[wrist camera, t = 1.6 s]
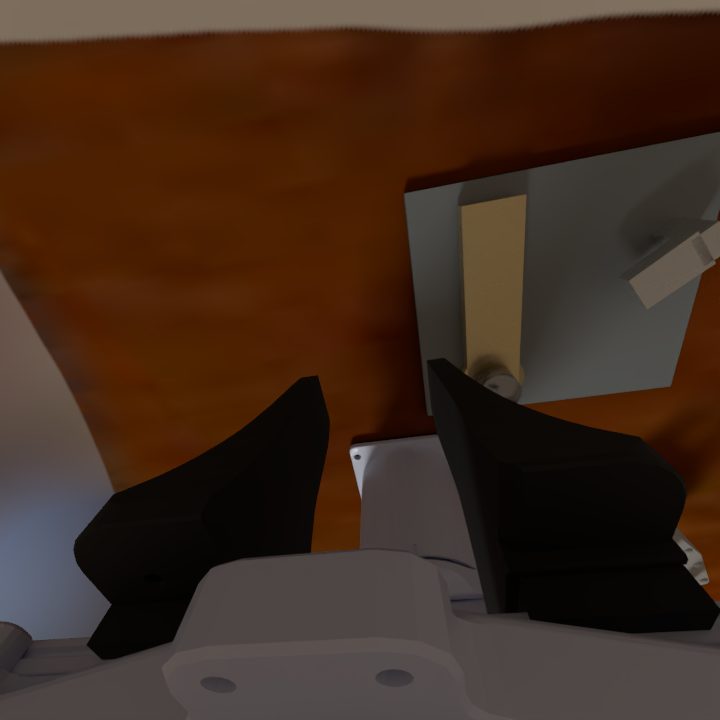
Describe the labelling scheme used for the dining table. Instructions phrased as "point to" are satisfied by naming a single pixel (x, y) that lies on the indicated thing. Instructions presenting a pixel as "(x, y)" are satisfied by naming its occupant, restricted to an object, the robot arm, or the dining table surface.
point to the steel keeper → (673, 259)
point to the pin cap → (501, 383)
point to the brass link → (491, 283)
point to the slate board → (573, 266)
